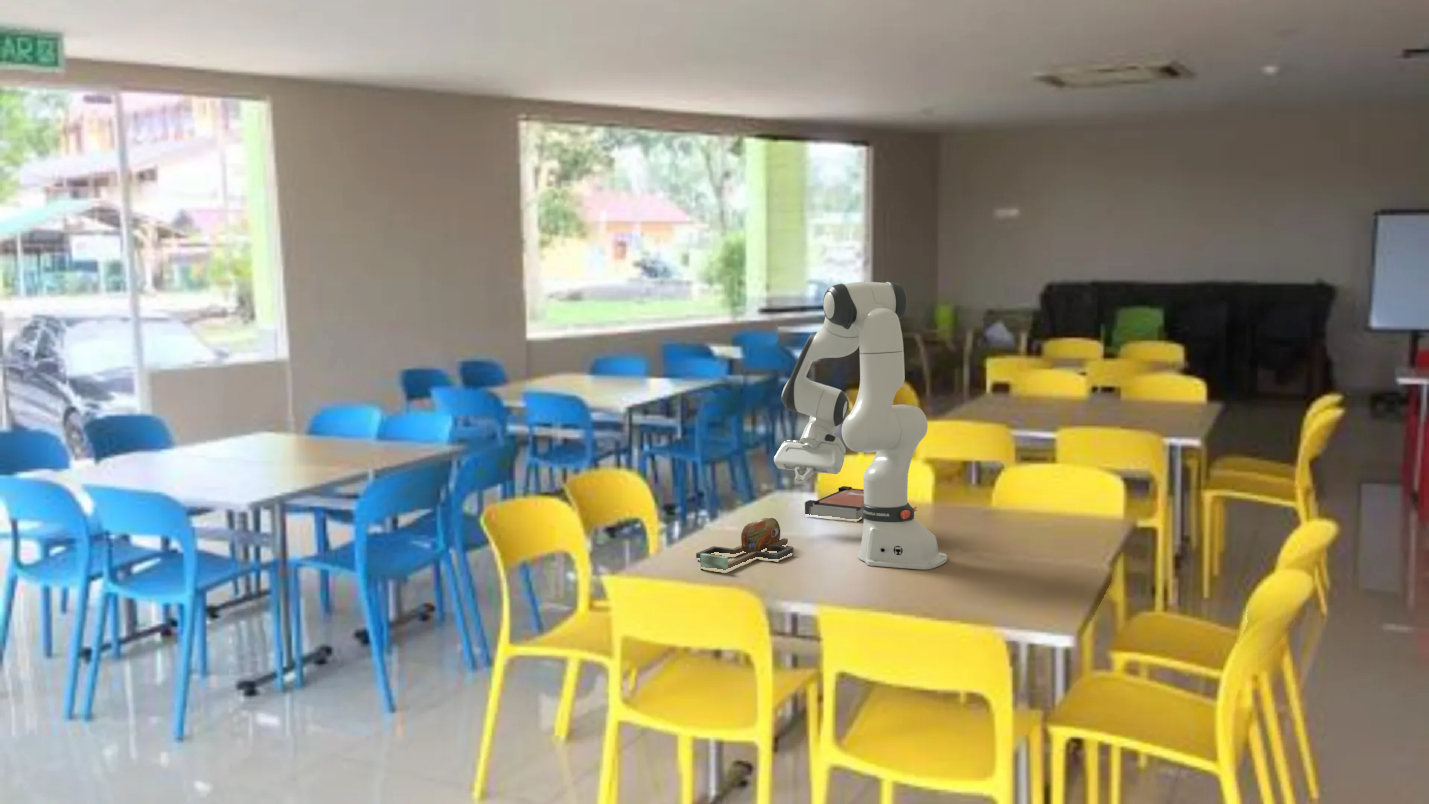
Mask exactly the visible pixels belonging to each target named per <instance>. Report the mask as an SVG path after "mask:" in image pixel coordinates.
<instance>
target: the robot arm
mask: <svg viewBox="0 0 1429 804" xmlns="http://www.w3.org/2000/svg"><path fill="white" fill-rule="evenodd" d="M822 307H823V313H824V316H825V317H824V322H823V324H822V325H823V326H822V327H821V328H820V329H819V330H818V331H815V332H812V333H810V335H809V336H808V338H807V340H805V343H804V345H803V347H802V349H801V352H800V354H799V357H798V358H797V360H796V363H795V366H794V367H793V370H792V372H791V375H790V377H789V379H788V380H787V381H786V383H785V385H784V387H783V390H782V392H781V400H780V401H781V402H782V404H783V405H784V408H786V410H787V411H789V412H794V413H798V414H803V415H806V416H808V417H809V421H808V422H807V424H806V425H805V427H804V429H803V432H802V434H801V437H800V439H799V440H797V439H794V440H793V439H788V440H786V441H783V442H782V443H781V445H780V447H779V449H778V450H777V452H776V454H775V455H774V457H773V463H774V464H775V466H776V468H777V469H779V470H789V471H794V474H795V476H794V480H793V481H794V482H795V483H796V484H805V485H806V484H807V481H808V479H810V478H811V477H812V476H813V475H814V474H815V473H820V474H828V475H829V474H831V475H837V474H839V473H840V472H841V471H842V468H843V466H844V462H845V456H844V455H845V454H846V451H847V450H846V447H847V449H849V450H851V451H852V452H855V453H856V452H857V453H864V454H865V453H866V454H870V453H875V455H874V458H873V460H872V462H871V463H870V465H869V466H867V467H866V469H865V470H864V473H863V490H864V502H863V503H862V520H861V521H862V524H863V525H862V536H861V543H860V546H859V552H858V555H857V558H858V559H859V560H861V561H863V562H864V563H865V564H866V565H867V566H869V567H870V566H873V567H882V568H883V567H886V568H899V569H912V570H931V569H935V568H937V567H940V566H942V565H944V564H946V562H947V561H948V556H947V554H946V553H943V552H939V546H938V540H937V537H936V535H935V534H934V533H932V532H931V531H930V530H929V529H927V528H926V527H925V526H924V525H923V524H922V523H920V522H919V520H917V519H916V518H915V512H917V511H918V510H917V507H918V506H914V507H913V506H912V505H911V504H910V503H909V501H908V489H909V487H908V485H909V483H908V482H909V472H910V467H911V462H912V459H913V457H914V454H915V451H916V450H917V447H918V445H920V442H921V441H922V440H923V439H924V438H925V437H926V436H927V432H928V425H929V423H928V419H927V416H926V414H925V413H924V411H923V410H922V409H921V408H920V407H918V406H915V405H910V404H902V403H899V404H894V405H893V403H894V400H895V396H896V394H897V392H898V391H899V389H901V388H902V386H903V385H904V383H905V380H906V379H905V378H906V377H905V353H904V339H903V333H902V328H901V326H902V325H901V322H900V320H901V319H902V318H904V315H905V314H906V312H907V308H908V297H907V294H906V291H905V289H904V288H903V286H902V285H901V284H899V283H897V282H892V281H885V282H878V281H857V282H849V283H838V284H835V285H831V286H829V287H827V289H826V291H825V292H824V295H823V300H822ZM858 349H859V376H860V377H859V379H860V380H859V387H858V393H857V396H856V399H855V401H854V402H855V403H854V405H853V407H852V409H851V411H850V413H849V414H848V415H847V416H846V414H847V412H848V409H849V404H850V403H849V402H850V401H849V399H848V397H847V395H846V393H845V391H843V390H841V389H839V388H836V387H833V386H830V385H827V384H823V383H820V382H816V381H813V380H811V379H809V378H808V377H807V375H808V372H809V371H810V368H811V366H812V364H813V362H814V361H815V360H818V359H819V360H820V359H825V358H826V359H827V358H828V359H829V358H831V359H833V358H834V359H839V358H843V357H847V356H849V355H852V354H854V353H855V351H857V350H858ZM840 425H841V438H842V440H841V439H840V437H839V436H837V435H835V433H836V431H837V430H838V429H839V427H840ZM843 442H844V443H843ZM845 446H846V447H845ZM803 472H805V473H804V474H803V475H802V473H803Z"/></svg>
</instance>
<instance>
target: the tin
mask: <svg viewBox="0 0 1429 804" xmlns="http://www.w3.org/2000/svg"><path fill="white" fill-rule="evenodd" d="M740 536H741V537H740V539H741V542H740V543H741V545H742V548H743V550H744V552H746V553H745V554H747V553H751V552H753V551H761V550H763V549H765V548H767V545H769V544H772V543H774V542H776V541H779V540H781V528H780V524H779V522H778V520H777V519H776V518H773V517H764V518H761V519H757V520H756V521H753V522H750V523H747V524H746V525H745V526H744V527H743V529H742V530H741V534H740Z"/></svg>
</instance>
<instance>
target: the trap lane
mask: <svg viewBox="0 0 1429 804" xmlns="http://www.w3.org/2000/svg"><path fill="white" fill-rule="evenodd" d="M787 543H788V544H789V539H788V538H785V537H784V538H780V539H779V541H776V542H774V543H772V544H769V545H767V551H777V553H769V552H767V551H766V552H761V551H753V552H751V553H749V554H747V553H745V554H743V555H741V556H740V557H739V556H738V557H736V558H734V559H733V560H730V561H729V558H728V557H725V556H722V555H715V554H711V553H714V552H719V553H730V554H736V553H740V552H742V551H744V550H743V548H742V544H741V545H738V546H736V547H734V548H730V547H723V546H717V545H716V546H715V545H713V546H710V547H708V548H705V549H703V550H701V551H698V552H695V557H696V558H700V561H699V562H700V568H701V567H705V568H717V569H723V570H726V569H728V568H731V567H733V566H735V565H738V564H740V563H742V562H746V561H747V560H749V559H753V558H755V557H763V558H768V559H780V558H782V557H784V556H787V555H788V554H790V553H793V554H794V547H792V546H791V547H790V546H787V547H784V546H782V545H786V544H787Z"/></svg>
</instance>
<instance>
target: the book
mask: <svg viewBox="0 0 1429 804" xmlns="http://www.w3.org/2000/svg"><path fill="white" fill-rule="evenodd" d="M837 489H838V490H837V491H835V492H833V493H832V494H829V495H827V496H825V497H822V498H820V499H817V500H814V499H809V500H806V501H804V515H805V514H809V515H810V514H811V515H818V516H832V517H840V518H845V519H859V518H860V517H862V503H863V502H864V488H862V489H861V488H853V487H852V486H845V485H843V486H840V487H838V488H837Z"/></svg>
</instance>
